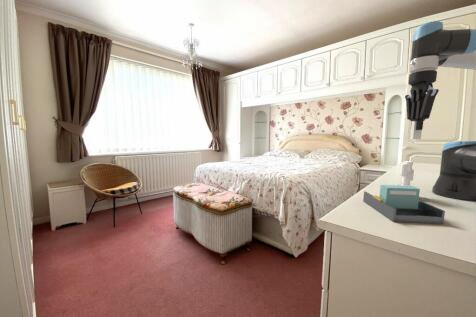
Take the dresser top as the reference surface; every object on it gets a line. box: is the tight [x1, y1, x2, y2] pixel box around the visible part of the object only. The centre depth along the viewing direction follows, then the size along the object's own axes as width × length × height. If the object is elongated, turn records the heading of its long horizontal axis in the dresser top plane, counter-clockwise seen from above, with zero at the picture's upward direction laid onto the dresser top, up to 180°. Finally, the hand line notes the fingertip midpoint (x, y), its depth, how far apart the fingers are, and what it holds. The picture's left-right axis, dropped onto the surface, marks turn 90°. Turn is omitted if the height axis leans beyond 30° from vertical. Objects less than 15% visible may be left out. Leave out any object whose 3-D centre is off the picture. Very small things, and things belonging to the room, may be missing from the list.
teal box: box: [379, 184, 421, 209], centre depth 73 cm, size 10×4×8 cm, turn 84°
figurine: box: [400, 160, 415, 186], centre depth 90 cm, size 7×9×15 cm
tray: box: [362, 190, 446, 225], centre depth 73 cm, size 14×19×5 cm
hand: (415, 139), depth 78 cm, fingers closed
